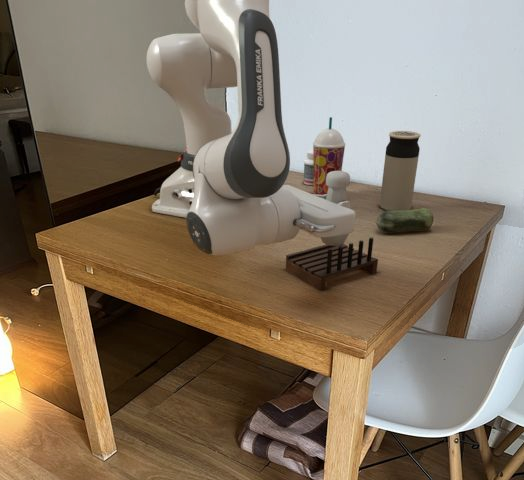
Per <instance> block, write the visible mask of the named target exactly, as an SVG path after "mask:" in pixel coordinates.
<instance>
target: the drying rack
mask: <svg viewBox="0 0 524 480" xmlns="http://www.w3.org/2000/svg"><path fill="white" fill-rule="evenodd" d="M367 245H368V246H367V253H364V252H363V250H364V240H362V239H361V240H359V241H358V249H355V248H354V243H353V242H349V243H348V245H347V244H345V243H344V244H341V245H338V246H331V245H326V244H323V245H318V246H315V247H312V248H308V249H303V250H301V251H300V250H299V251H296V252H293V253H289V254H286V255H285V271H286V272H288V273H290V274H291V275H293V276H295V277H296V278H298V279H300V280H301V281H303V282H305V283H307V284H309V285H310V286H312V287H314V288H315V289H317V290H318V291H325V290H326V289H327V279H329V278H333V277H335V276H339V275H342V274H345V273H348V272H352V271H354V270H358V269H359V270H363V271H364V272H367V273H369V274H371V275H375V274H377V271H378V264H379V263H378V262H379V259H378V258H377V257H373V256H372V254H373V246H374V237H369V238H368V244H367Z"/></svg>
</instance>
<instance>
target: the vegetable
mask: <svg viewBox="0 0 524 480" xmlns="http://www.w3.org/2000/svg"><path fill="white" fill-rule="evenodd" d="M434 218H435V217H434V213H433V212H432V211H431V210H430V209H428V208H427V207H421V208H416V209H408V210H397V211H388V210H384V211H382V212H381V213H379V215H378V216H377V219H376V221H374V224H375V225H376V227H377V229H378V231H379V232H380V233H383V234H394V233H395V234H396V233H406V232H407V233H408V232H409V233H410V232H425V231H426V232H427V231H428V230H429V229H431V227H432V226H433V224H434Z"/></svg>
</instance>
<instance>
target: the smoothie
mask: <svg viewBox="0 0 524 480" xmlns="http://www.w3.org/2000/svg"><path fill="white" fill-rule="evenodd" d="M332 125H333V117H331V116H330V117H329V119H328V128H325V129H323V130H321V131H320V132H319V133H318V134H317V136H316V137H315V140H314V141H313V142H312V145H313V146H312V150H313V164H314V185H313V192H314V193H315V194H316V195H325V194H327V192H328V188H329V186H327V185H326V176H327V174H328V173H329V172H331V171H343V163H344V157H345V150H346V149H345V148H346V142H345V140H344V137H343V135H342V134H341V132H340V131H338V130H336V129H334V128H332Z"/></svg>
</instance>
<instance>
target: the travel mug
mask: <svg viewBox="0 0 524 480" xmlns="http://www.w3.org/2000/svg"><path fill="white" fill-rule="evenodd" d="M388 137H389V142H388V144H387V146H386V147H385V148H386V149H385V156H384V164H383V173H382V179H381V188H380V198H379V207H380V208H382V209H383V210H384V211H397V210H411V209H412V204H413V196H414V190H415V183H416V177H417V170H418V165H419V163H418V162H419V156H420V151H421V150H420V149H421V148H420V146H419V143H418V142H419V139H420V138H421V133H419V132H416V131H412V130H393V131H390V132H389V133H388Z"/></svg>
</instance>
